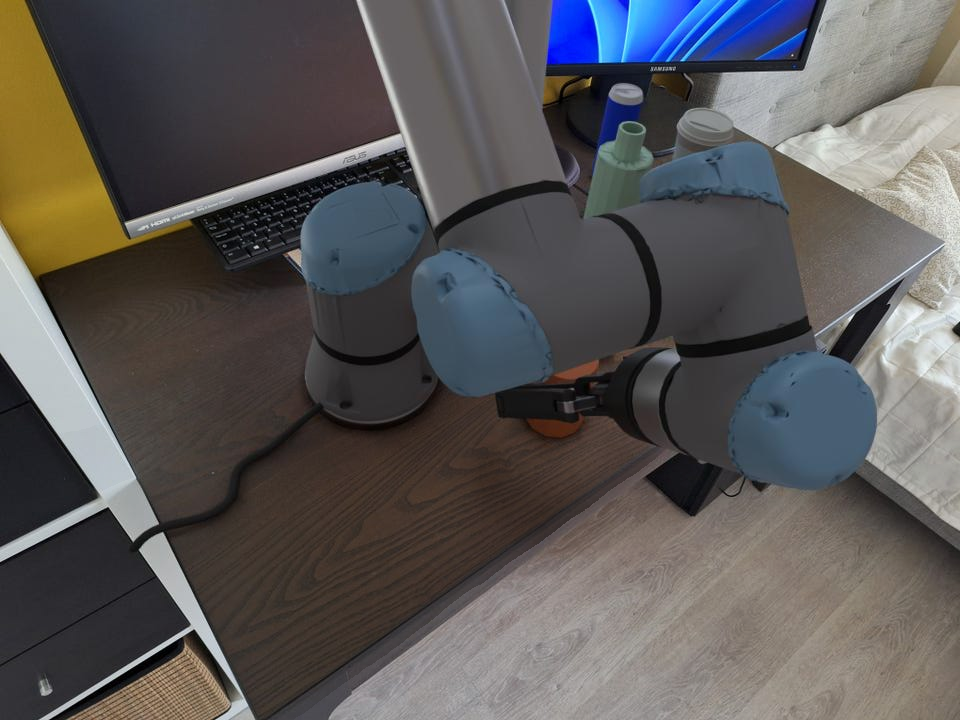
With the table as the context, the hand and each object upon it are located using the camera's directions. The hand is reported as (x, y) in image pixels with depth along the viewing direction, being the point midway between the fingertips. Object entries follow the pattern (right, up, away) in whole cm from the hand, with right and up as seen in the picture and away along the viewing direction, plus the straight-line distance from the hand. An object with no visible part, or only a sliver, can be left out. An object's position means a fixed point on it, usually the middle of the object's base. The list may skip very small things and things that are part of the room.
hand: (568, 379), depth 70 cm
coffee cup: (+24, +30, +40) cm, 56 cm away
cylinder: (-1, -4, +6) cm, 8 cm away
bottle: (+10, +23, +31) cm, 40 cm away
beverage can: (+12, +32, +40) cm, 53 cm away
